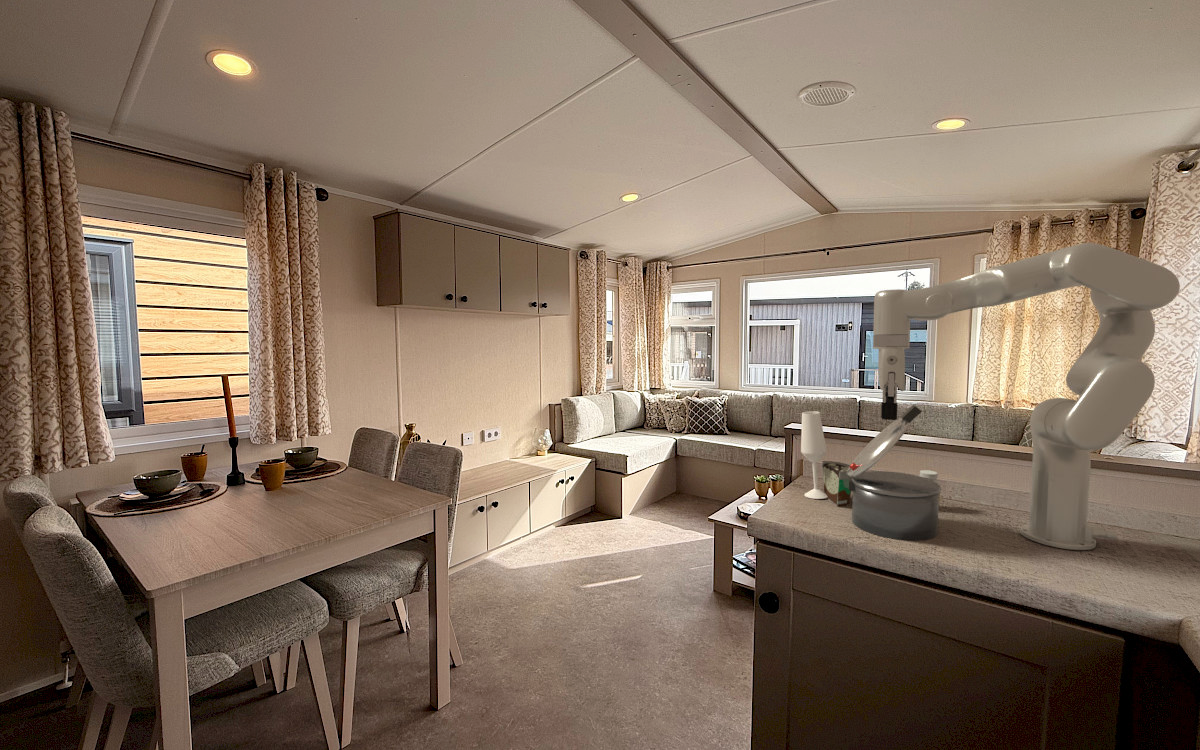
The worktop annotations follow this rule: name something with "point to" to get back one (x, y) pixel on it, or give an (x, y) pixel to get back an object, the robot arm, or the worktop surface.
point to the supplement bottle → (930, 476)
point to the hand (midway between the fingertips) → (888, 418)
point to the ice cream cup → (836, 482)
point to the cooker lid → (882, 443)
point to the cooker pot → (895, 505)
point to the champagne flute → (813, 447)
